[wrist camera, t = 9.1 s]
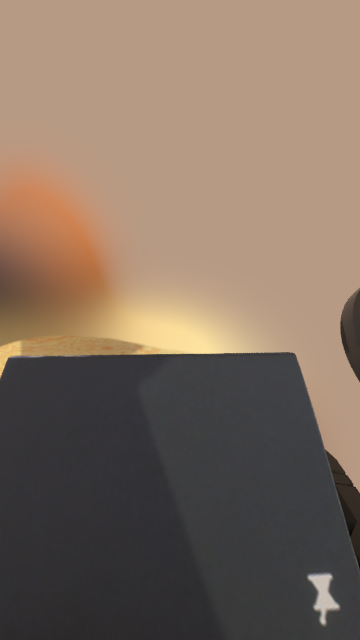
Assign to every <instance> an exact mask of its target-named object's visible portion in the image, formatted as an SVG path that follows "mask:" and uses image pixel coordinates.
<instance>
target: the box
mask: <svg viewBox="0 0 360 640" xmlns="http://www.w3.org/2000/svg"><path fill="white" fill-rule="evenodd" d="M0 640H360V569H359V566H358V562H357V559H356V556H355V552H354V549H353V546H352V542H351V539H350V535H349V532H348V528H347V525H346V521H345V518H344V514H343V511H342V507H341V504H340V500H339V497H338V493H337V490H336V486H335V483H334V480H333V476H332V472H331V468H330V465H329V462H328V458H327V455H326V452H325V449H324V445H323V441H322V438H321V434H320V431H319V427H318V424H317V420H316V417H315V413H314V410H313V407H312V403H311V400H310V397H309V394H308V391H307V387H306V384H305V381H304V378H303V375H302V372H301V369H300V366H299V363H298V360H297V357H296V355H295V354H294V353H290V352H283V353H282V352H281V353H224V354H149V355H74V356H11V357H9V358H8V360H7V362H6V365H5V368H4V370H3V373H2V376H1V378H0Z"/></svg>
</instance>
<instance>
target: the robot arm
mask: <svg viewBox="0 0 360 640" xmlns="http://www.w3.org/2000/svg"><path fill="white" fill-rule="evenodd" d="M325 452H326V455H327V458H328V462H329V465H330V468H331V472H332V476H333V480H334V483H335V486H336V490H337V493H338V497H339V500H340V504H341V507H342V511H343V514H344V518H345V521H346V525H347V528H348V532H349V535H350V539H351V542H352V546H353V549H354V552H355V556H356V559H357V562H358V566H359V569H360V493H359V492H358V490H357V489H356V487H354V486H353V483H352V481H351V480H350V479H349V477H348V476H347V475H346V474H345V471H344V470H343V469H342V467H341V466H340V464H339V463H338V461H337V460H336V459H335V458H334V457H333V456H332V455H331V454H330V453H329V452H327V451H326V450H325Z"/></svg>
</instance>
